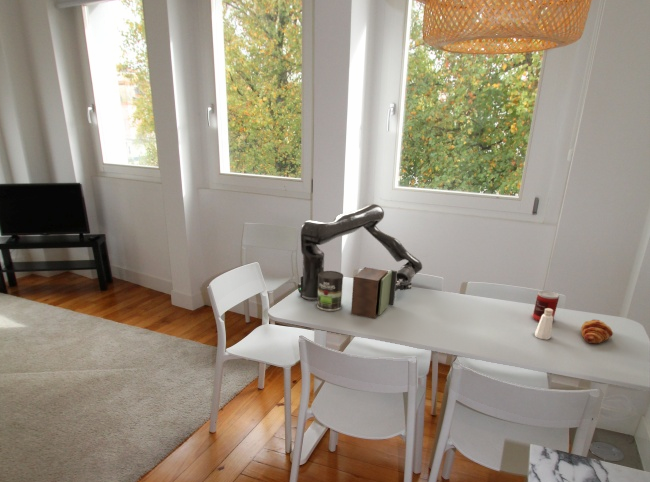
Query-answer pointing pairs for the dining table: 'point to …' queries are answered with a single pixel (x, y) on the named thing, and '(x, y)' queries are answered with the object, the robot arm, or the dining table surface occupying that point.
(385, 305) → the sliding door
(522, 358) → the dining table surface
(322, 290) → the coffee can
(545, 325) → the pepper shaker
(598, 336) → the croissant
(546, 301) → the canned food
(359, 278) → the closet
